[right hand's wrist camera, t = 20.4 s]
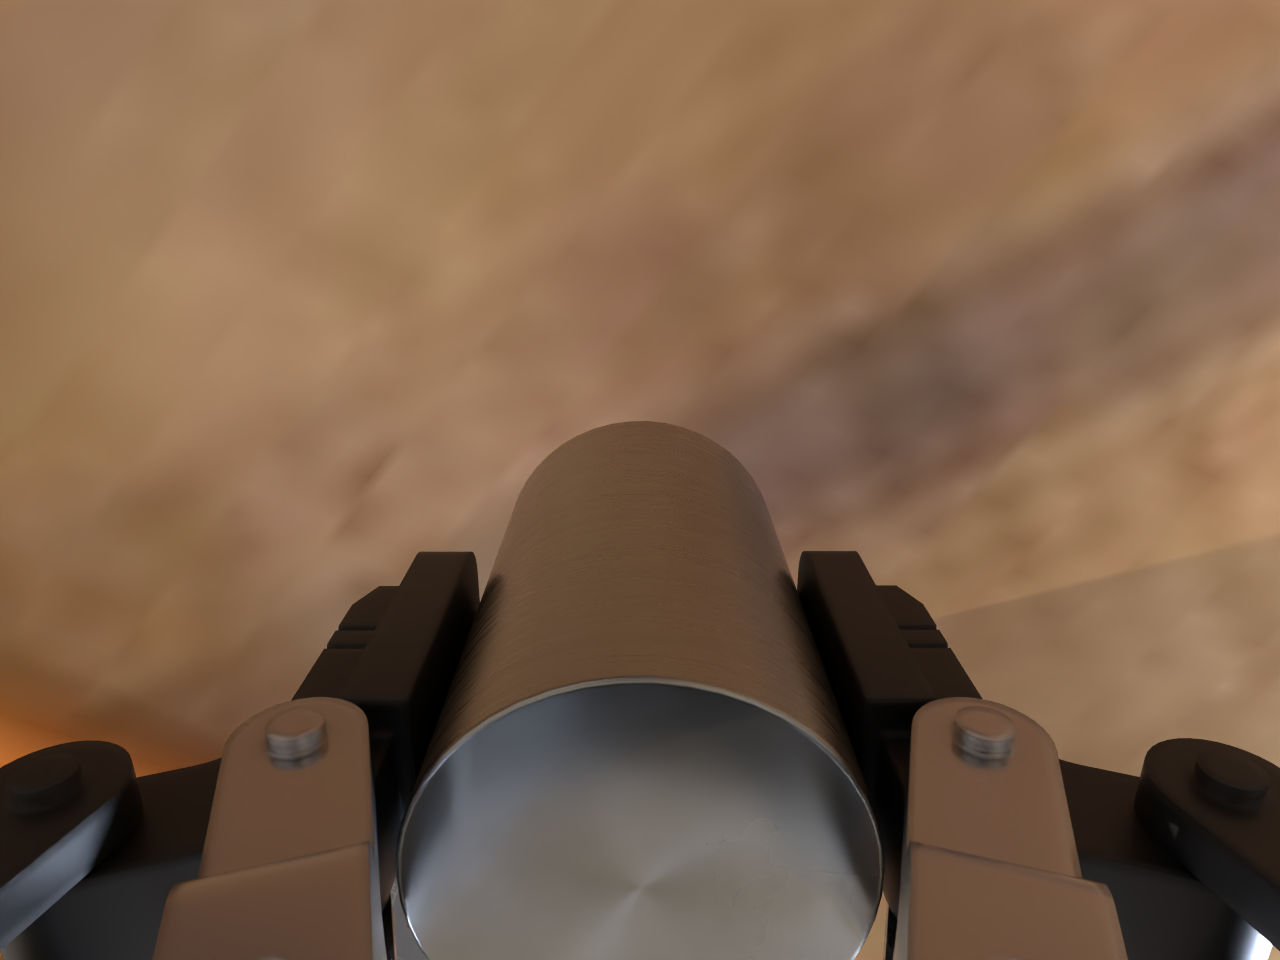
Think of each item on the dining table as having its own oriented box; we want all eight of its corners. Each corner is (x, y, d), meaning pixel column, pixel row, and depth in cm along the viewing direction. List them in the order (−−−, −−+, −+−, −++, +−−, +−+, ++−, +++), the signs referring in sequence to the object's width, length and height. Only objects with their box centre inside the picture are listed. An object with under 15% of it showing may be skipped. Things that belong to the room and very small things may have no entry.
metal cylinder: (726, 382, 14) (811, 612, 7) (802, 615, 15) (935, 995, 8) (467, 470, 14) (305, 766, 7) (566, 687, 16) (509, 1100, 9)
